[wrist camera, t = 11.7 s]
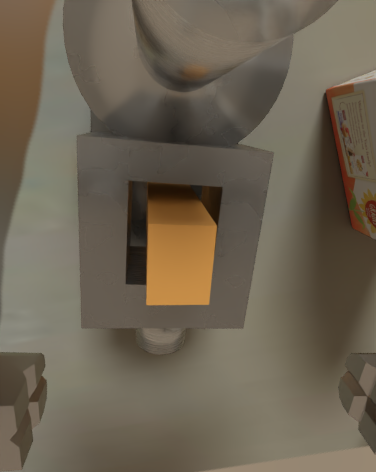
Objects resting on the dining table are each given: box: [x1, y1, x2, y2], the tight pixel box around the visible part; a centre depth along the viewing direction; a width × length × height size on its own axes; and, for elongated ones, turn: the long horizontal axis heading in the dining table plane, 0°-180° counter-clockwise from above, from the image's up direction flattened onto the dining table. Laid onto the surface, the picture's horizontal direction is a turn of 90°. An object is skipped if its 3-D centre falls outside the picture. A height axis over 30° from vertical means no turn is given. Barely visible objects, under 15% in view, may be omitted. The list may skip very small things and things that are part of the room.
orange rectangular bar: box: [146, 182, 217, 305], centre depth 21 cm, size 3×4×14 cm
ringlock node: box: [63, 0, 338, 355], centre depth 18 cm, size 12×25×22 cm, turn 175°
